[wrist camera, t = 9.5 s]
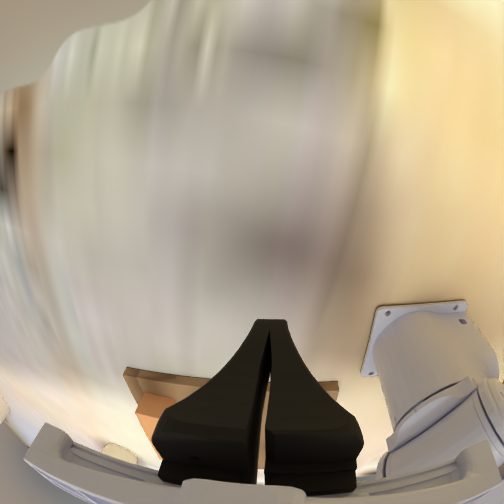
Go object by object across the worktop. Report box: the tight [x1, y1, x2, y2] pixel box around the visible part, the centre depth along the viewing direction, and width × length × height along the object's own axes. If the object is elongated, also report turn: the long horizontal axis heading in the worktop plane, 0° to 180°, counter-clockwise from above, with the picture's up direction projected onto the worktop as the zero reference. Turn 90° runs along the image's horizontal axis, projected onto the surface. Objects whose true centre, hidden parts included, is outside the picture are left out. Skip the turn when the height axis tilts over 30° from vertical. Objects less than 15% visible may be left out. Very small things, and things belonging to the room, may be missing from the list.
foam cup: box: [101, 443, 137, 464], centre depth 33 cm, size 10×9×13 cm
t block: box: [135, 392, 175, 460], centre depth 27 cm, size 10×12×3 cm
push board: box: [123, 367, 339, 469], centre depth 29 cm, size 22×20×1 cm
